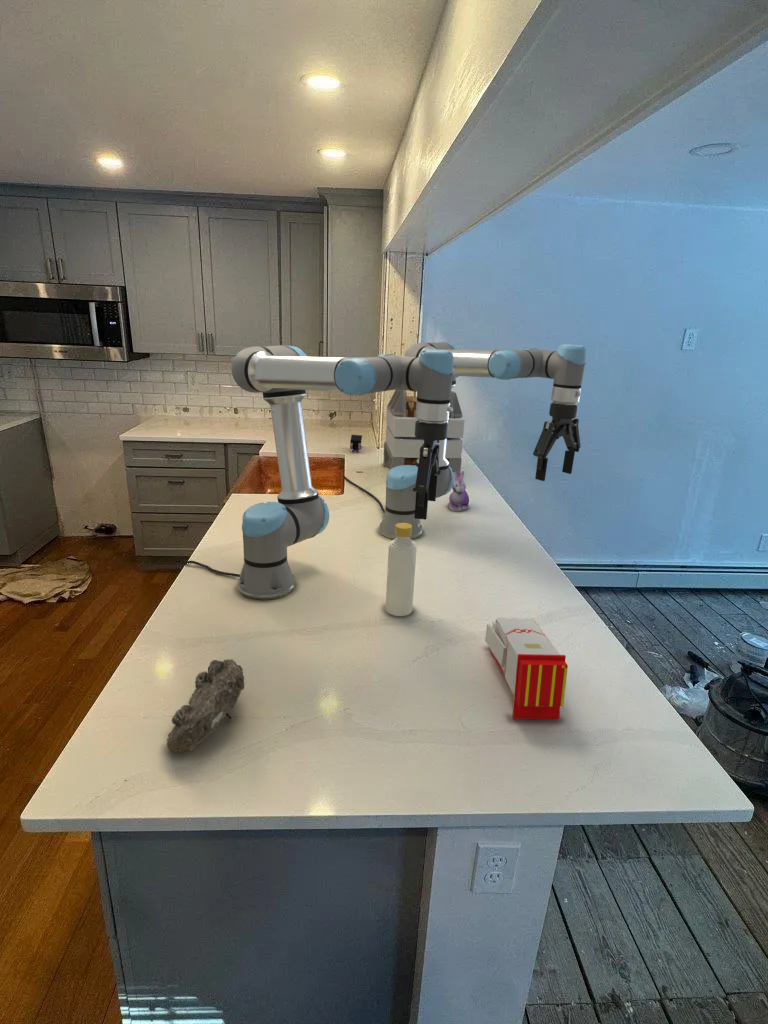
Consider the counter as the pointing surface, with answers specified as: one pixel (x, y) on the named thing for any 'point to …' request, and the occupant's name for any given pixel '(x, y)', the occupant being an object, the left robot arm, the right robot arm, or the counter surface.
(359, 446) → the figurine character
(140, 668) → the counter surface
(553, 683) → the toy
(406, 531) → the cap
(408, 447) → the grey slatted box
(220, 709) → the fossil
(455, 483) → the figurine
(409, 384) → the left robot arm
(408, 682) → the counter surface
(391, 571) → the bottle
